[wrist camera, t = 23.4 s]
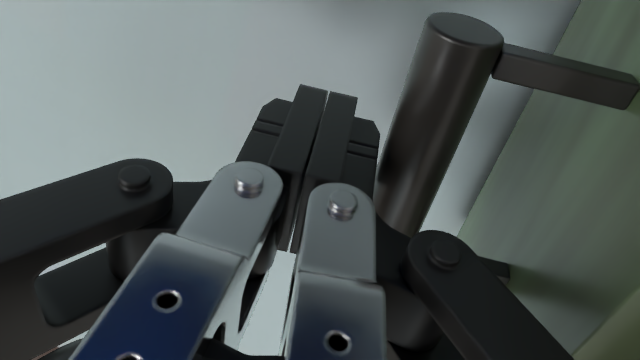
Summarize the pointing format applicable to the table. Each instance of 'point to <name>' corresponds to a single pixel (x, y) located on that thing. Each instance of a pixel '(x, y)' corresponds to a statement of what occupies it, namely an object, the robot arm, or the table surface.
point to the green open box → (536, 167)
